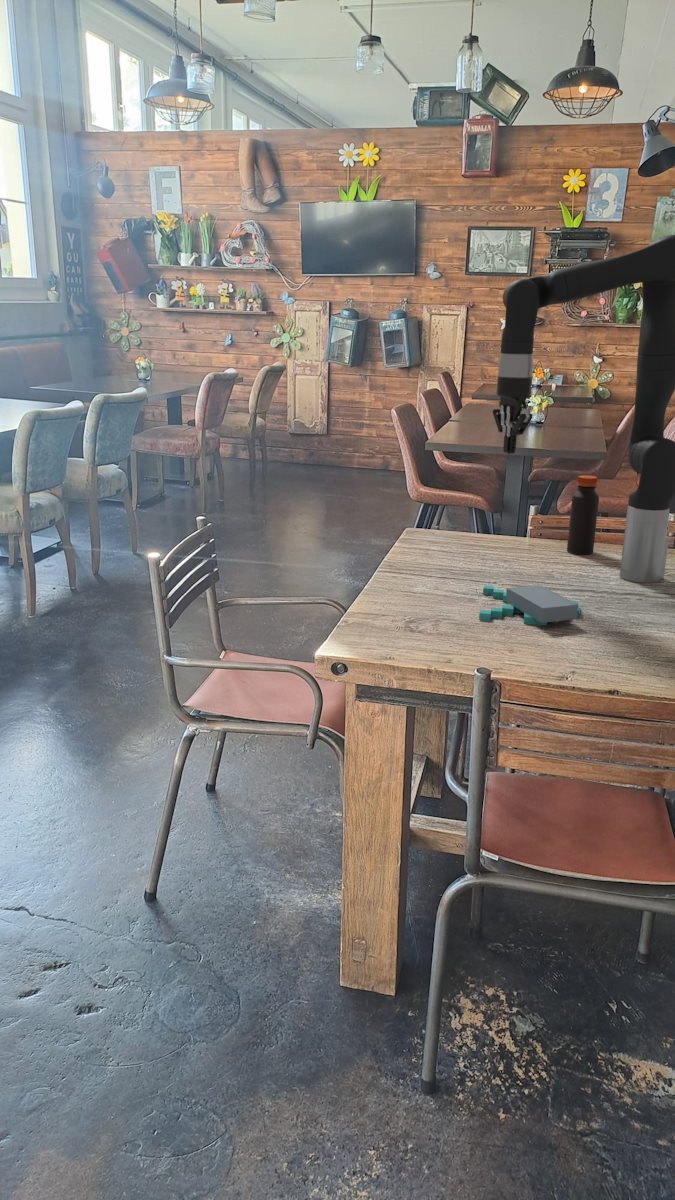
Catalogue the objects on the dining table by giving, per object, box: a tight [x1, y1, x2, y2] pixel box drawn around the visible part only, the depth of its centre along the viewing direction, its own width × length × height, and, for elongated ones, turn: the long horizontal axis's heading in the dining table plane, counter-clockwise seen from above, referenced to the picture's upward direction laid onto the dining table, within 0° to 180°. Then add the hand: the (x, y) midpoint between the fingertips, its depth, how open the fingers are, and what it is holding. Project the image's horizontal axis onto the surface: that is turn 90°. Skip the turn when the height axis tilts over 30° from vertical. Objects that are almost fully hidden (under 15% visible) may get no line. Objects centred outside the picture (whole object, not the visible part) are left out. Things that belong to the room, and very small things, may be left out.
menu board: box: [505, 584, 579, 623], centre depth 174 cm, size 8×3×14 cm
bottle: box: [566, 474, 600, 556], centre depth 223 cm, size 7×7×20 cm
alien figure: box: [478, 584, 581, 626], centre depth 180 cm, size 20×2×20 cm
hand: (509, 452), depth 196 cm, fingers closed
